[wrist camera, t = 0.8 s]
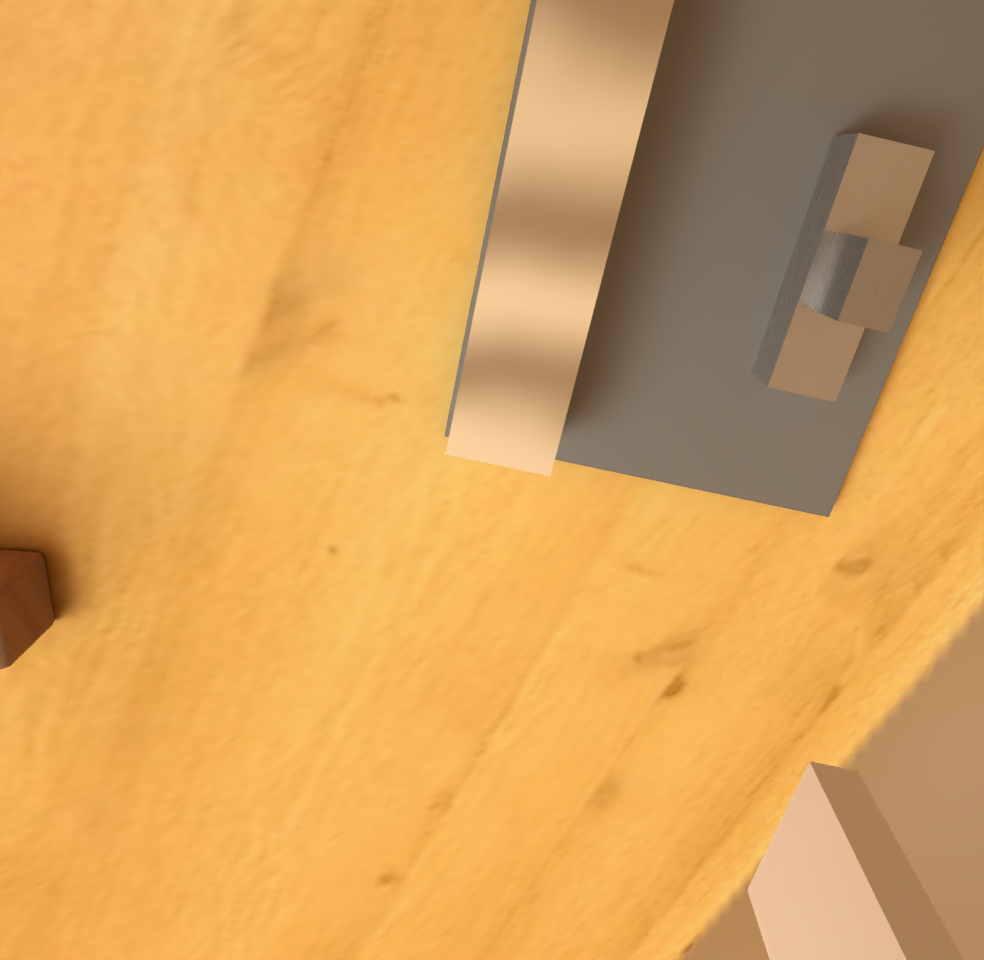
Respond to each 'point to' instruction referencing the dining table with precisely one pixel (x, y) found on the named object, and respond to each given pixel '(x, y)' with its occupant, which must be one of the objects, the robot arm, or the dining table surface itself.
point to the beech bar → (554, 224)
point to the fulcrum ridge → (844, 265)
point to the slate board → (757, 234)
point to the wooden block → (22, 603)
